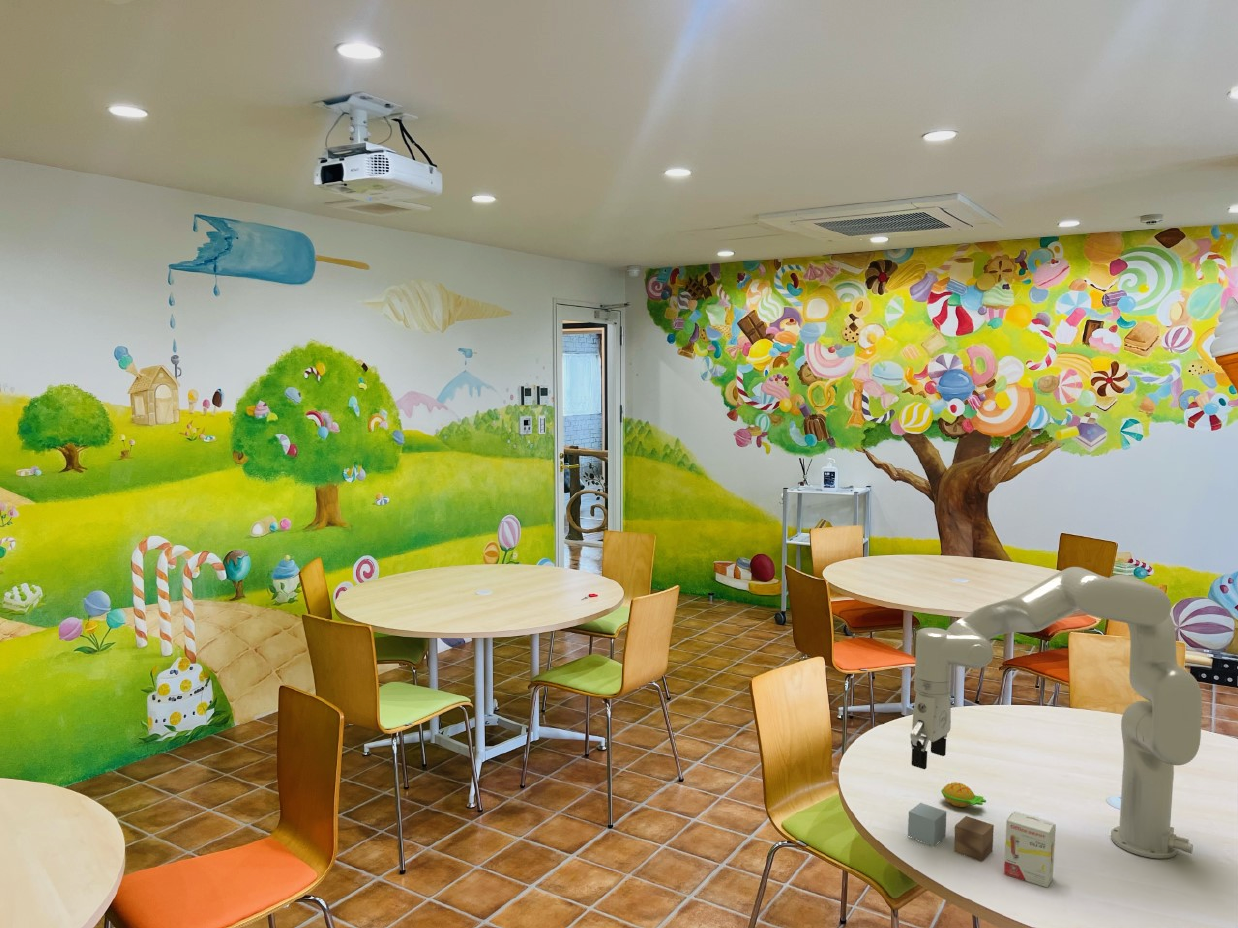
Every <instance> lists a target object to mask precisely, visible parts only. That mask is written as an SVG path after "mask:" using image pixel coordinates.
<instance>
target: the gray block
mask: <svg viewBox="0 0 1238 928" xmlns="http://www.w3.org/2000/svg"><path fill="white" fill-rule="evenodd" d="M907 820H908V821H907V822H908V824H907V837H908V836H910V837H912V838H914V839H917V840H919V841H922V842H925V843H927V844H929V845H928V846H930V845H932V846H931V847H933V846H934V847H935V845H936V844H937V843H938V842H939V841H940V842H942V841H943V840H944V839H945V838H946V833H947V831H946V829H947V828H946V827H947V811H946V810H943V809H940V808H937V807H934V806H933V805H929V804H926V803H922V802H919V803H918V804H917V805H916V806H914V807H913V808H911V809H910V810H909V811H908V819H907ZM944 837H945V838H944ZM943 838H944V839H943ZM914 839H913V840H914ZM917 840H916V841H917ZM919 841H918V842H919ZM922 842H921V843H922ZM940 842H939V843H940ZM925 843H924V844H925ZM939 843H938V844H939ZM927 844H926V845H927ZM938 844H937V845H938ZM937 845H936V846H937Z"/></svg>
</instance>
